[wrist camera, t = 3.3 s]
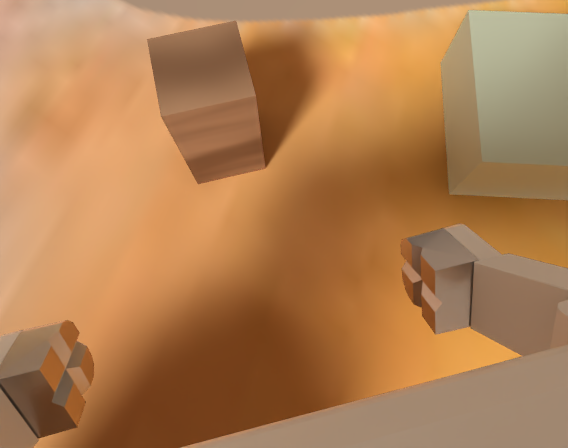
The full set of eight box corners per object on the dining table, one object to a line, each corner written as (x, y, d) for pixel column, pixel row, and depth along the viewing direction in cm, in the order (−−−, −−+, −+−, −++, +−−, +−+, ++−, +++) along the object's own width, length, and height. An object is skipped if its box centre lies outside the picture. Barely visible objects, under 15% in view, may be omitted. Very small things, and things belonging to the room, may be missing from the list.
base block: (605, 203, 26) (676, 171, 21) (447, 195, 26) (482, 161, 22) (581, 71, 29) (639, 16, 24) (439, 65, 29) (468, 10, 25)
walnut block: (265, 168, 27) (256, 95, 19) (198, 184, 27) (161, 116, 19) (250, 110, 28) (236, 20, 20) (186, 124, 28) (147, 39, 20)
